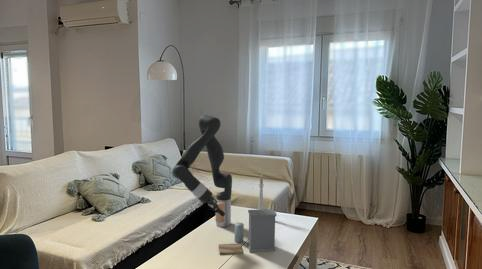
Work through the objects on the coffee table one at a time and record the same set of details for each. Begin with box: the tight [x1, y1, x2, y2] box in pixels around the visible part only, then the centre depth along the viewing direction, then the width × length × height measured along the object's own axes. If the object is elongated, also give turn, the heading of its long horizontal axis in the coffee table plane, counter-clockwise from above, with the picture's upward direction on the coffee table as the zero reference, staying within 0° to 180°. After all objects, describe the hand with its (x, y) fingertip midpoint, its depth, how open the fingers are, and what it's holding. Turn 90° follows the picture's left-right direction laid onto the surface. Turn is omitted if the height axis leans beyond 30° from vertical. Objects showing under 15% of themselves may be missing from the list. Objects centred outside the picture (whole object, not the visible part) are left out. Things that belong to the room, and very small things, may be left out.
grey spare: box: [234, 222, 245, 244], centre depth 193 cm, size 5×5×10 cm
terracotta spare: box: [215, 202, 225, 223], centre depth 187 cm, size 5×5×10 cm
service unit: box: [247, 208, 277, 253], centre depth 184 cm, size 8×14×20 cm, turn 97°
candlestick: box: [257, 174, 265, 210], centre depth 229 cm, size 13×13×30 cm
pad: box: [218, 243, 243, 256], centre depth 183 cm, size 10×12×1 cm
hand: (223, 213), depth 187 cm, fingers closed on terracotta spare, 5 cm apart
